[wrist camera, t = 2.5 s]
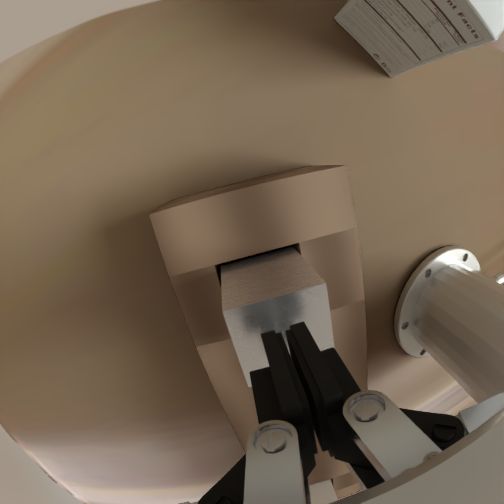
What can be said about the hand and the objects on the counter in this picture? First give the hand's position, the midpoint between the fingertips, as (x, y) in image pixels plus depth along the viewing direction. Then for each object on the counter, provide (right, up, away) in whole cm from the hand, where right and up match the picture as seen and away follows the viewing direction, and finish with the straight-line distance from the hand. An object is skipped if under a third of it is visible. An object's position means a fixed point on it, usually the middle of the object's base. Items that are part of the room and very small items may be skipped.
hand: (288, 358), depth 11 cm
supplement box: (+10, +23, +8) cm, 27 cm away
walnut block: (+3, -10, +16) cm, 19 cm away
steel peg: (-1, +2, +7) cm, 7 cm away
